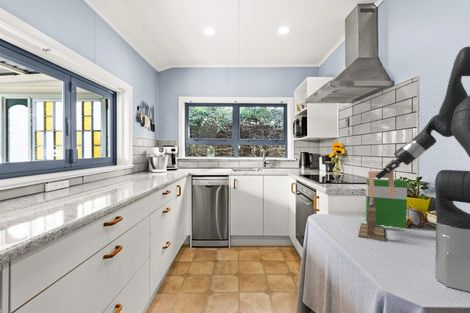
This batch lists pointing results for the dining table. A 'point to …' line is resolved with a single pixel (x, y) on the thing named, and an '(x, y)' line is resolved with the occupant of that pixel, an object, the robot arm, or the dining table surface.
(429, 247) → the dining table surface
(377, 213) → the hardback book
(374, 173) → the pink c-shaped hook
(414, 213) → the tin
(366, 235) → the wooden rack with bar
